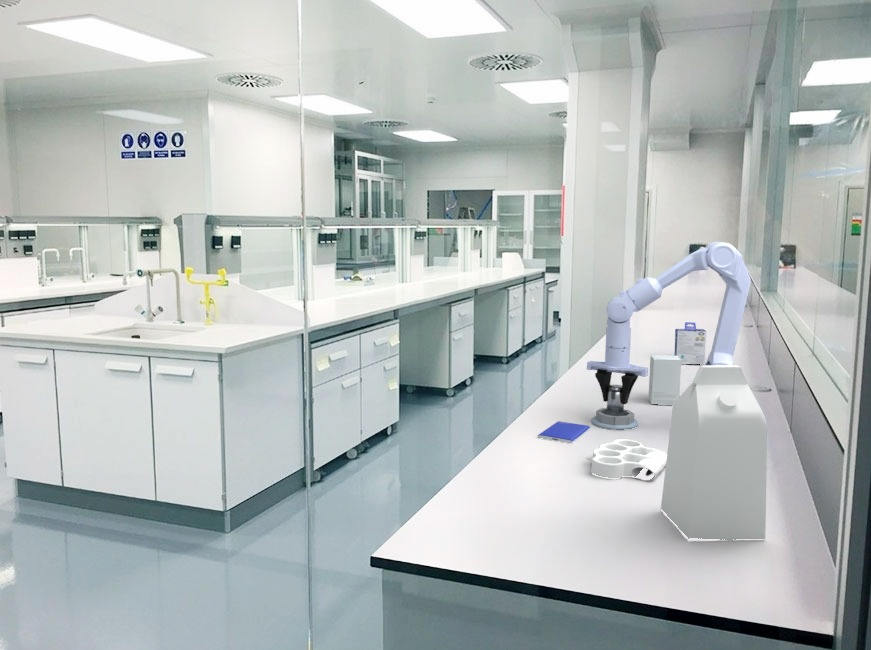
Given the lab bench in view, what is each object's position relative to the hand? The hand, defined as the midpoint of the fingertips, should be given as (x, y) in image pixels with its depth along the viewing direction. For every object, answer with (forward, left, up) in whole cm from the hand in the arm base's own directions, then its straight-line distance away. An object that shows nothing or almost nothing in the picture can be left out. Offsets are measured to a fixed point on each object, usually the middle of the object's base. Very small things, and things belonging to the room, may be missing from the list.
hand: (615, 402), depth 169 cm
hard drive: (-7, +15, -6) cm, 17 cm away
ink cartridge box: (+71, -54, -6) cm, 89 cm away
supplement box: (+19, -21, -6) cm, 29 cm away
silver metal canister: (0, 0, -2) cm, 2 cm away
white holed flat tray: (-30, +9, -6) cm, 32 cm away
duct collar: (0, 0, -5) cm, 5 cm away
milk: (-58, +6, -6) cm, 59 cm away
